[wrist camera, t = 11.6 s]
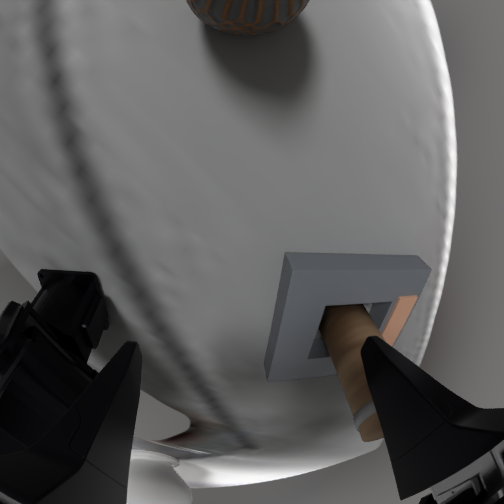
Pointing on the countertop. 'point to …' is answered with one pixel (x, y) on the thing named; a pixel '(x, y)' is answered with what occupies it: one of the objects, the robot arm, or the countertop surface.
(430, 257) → the countertop surface
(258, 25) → the vase
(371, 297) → the socket block
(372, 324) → the walnut peg
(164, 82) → the countertop surface
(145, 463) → the decorative vase
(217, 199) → the countertop surface
